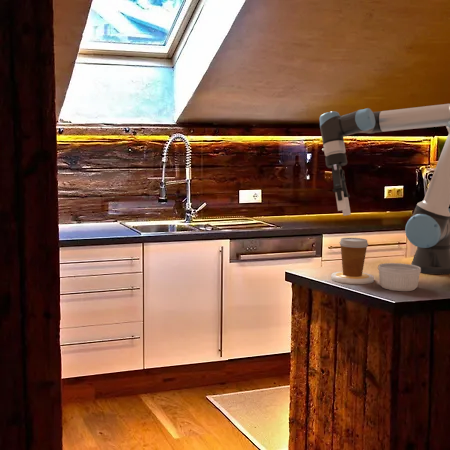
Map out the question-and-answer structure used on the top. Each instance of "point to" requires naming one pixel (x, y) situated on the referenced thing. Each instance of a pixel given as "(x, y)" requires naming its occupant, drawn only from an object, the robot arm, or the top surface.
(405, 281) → the ramekin
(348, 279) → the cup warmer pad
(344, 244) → the disposable coffee cup
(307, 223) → the top surface
